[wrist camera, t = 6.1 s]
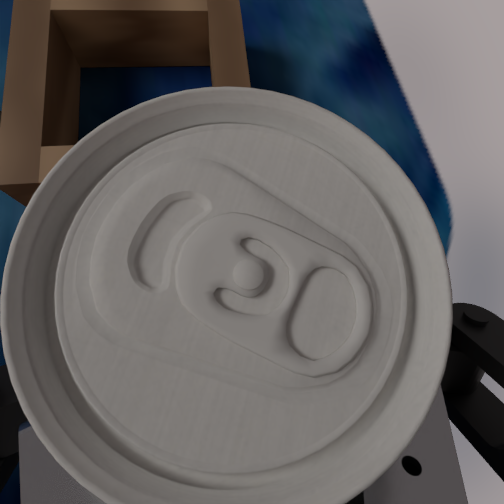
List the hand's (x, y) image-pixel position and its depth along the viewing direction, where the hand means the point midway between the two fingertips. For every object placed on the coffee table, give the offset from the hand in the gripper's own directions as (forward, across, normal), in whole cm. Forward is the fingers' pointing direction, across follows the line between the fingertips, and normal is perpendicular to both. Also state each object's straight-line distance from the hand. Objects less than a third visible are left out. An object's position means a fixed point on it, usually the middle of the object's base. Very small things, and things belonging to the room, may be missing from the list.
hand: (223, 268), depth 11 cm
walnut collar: (+14, +9, -4) cm, 17 cm away
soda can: (+4, 0, +6) cm, 8 cm away
